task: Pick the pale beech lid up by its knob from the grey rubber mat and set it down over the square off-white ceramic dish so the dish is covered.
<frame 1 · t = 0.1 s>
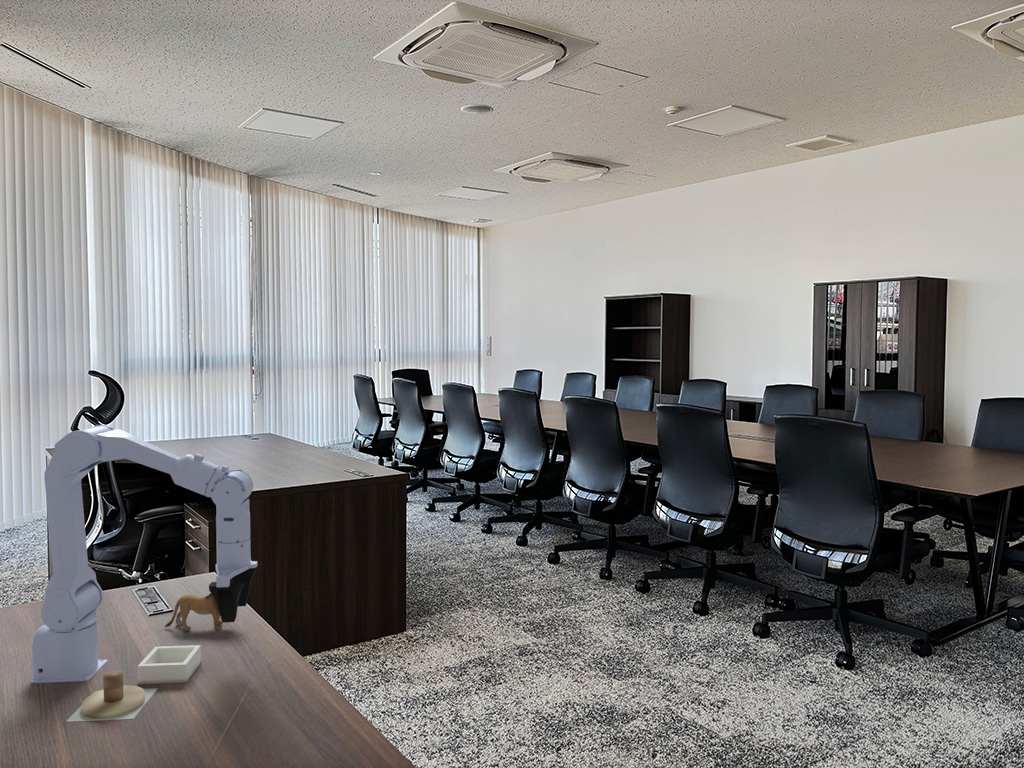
hand: (234, 613, 132), 10 cm above the table, tool pointing down, fingers open, 7 cm apart
mat: (113, 706, 119), on the table
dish: (170, 674, 130), on the table
lion figurine: (205, 626, 152), on the table
lid: (113, 704, 119), resting on mat
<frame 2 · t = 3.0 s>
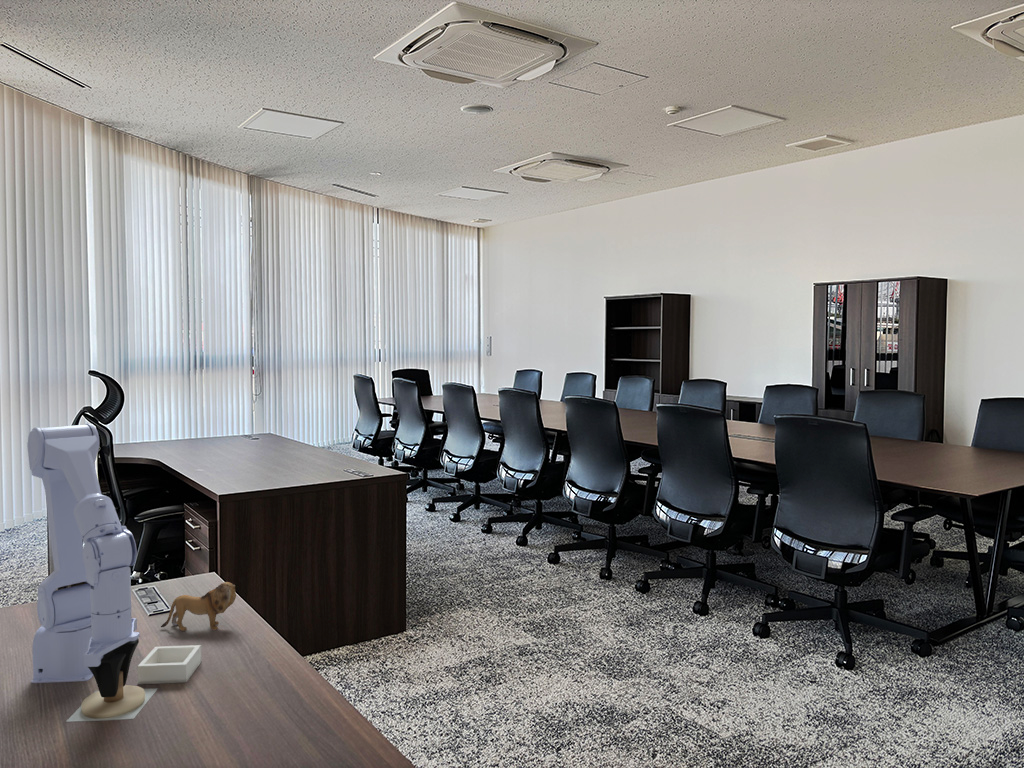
hand: (113, 691, 119), 3 cm above the table, tool pointing down, fingers closed on lid, 3 cm apart
lid: (113, 704, 119), resting on mat, touching gripper
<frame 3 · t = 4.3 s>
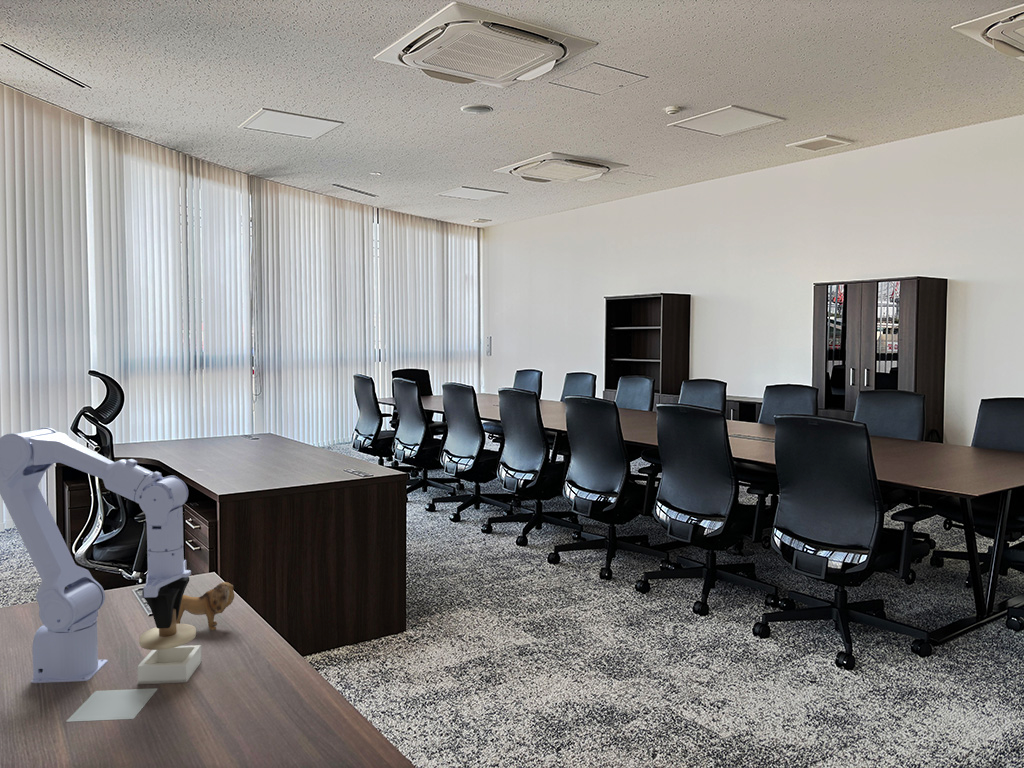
hand: (167, 623, 129), 9 cm above the table, tool pointing down, fingers closed on lid, 3 cm apart
lid: (168, 639, 129), point 7 cm above the table, touching gripper
when the fingers open (7 cm above the table, at t = 5.6 s): lid stays where it is, resting on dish.
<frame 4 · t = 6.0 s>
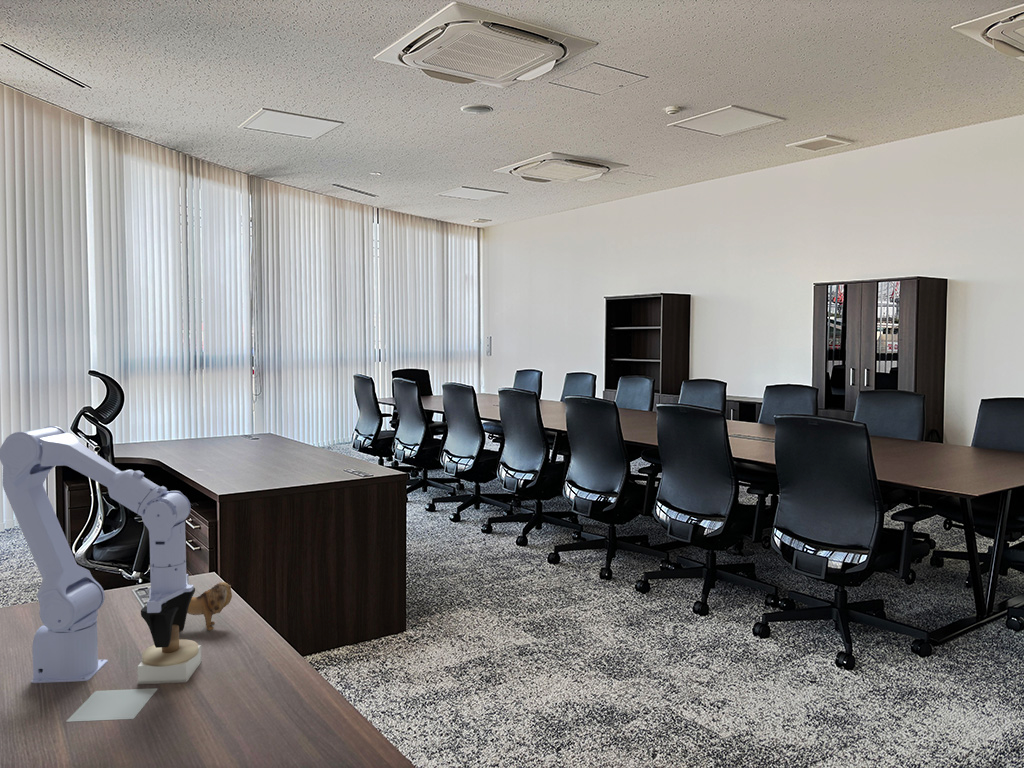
hand: (169, 638, 130), 7 cm above the table, tool pointing down, fingers open, 7 cm apart
lid: (170, 655, 130), point 3 cm above the table, touching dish
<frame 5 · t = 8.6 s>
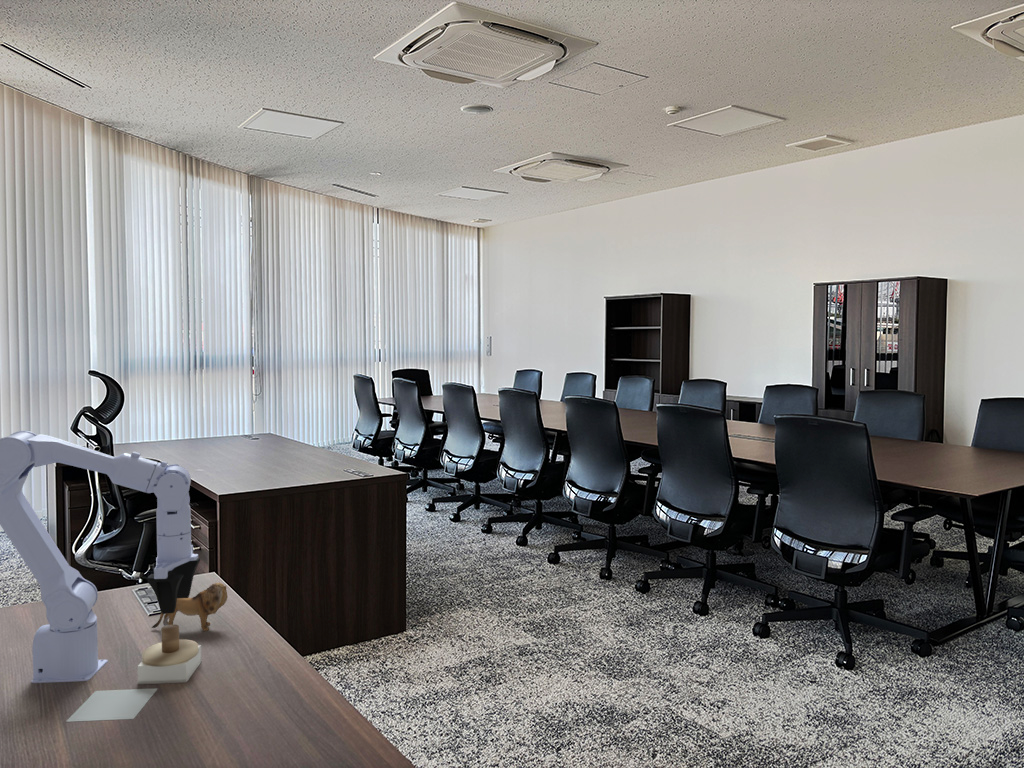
hand: (175, 605, 135), 10 cm above the table, tool pointing down, fingers open, 7 cm apart
at the end: lid 0.1 cm off-centre on the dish, point 3.5 cm above the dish's base; lid tilted 0°; the gripper is holding nothing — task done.
